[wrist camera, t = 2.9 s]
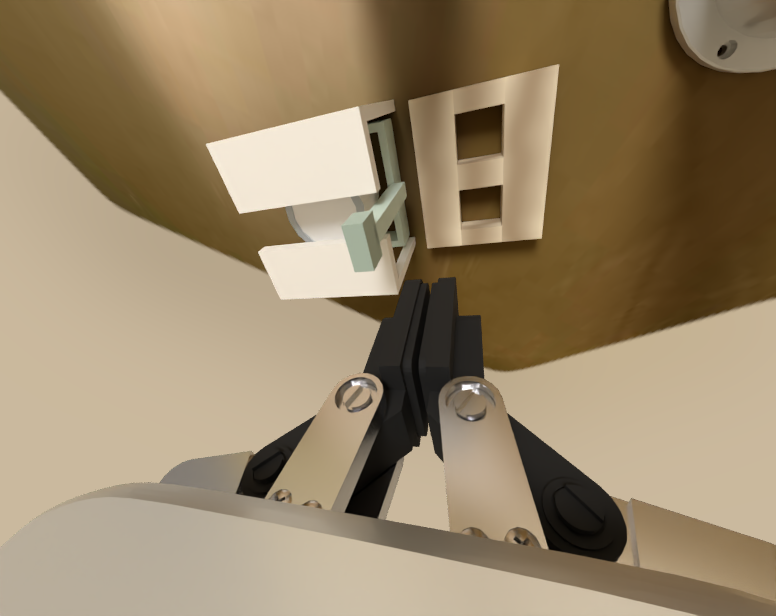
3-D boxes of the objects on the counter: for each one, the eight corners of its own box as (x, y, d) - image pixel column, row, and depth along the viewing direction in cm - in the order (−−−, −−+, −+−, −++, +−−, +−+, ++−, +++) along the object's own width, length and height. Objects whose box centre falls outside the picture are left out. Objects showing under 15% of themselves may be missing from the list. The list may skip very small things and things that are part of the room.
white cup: (366, 235, 32) (344, 267, 26) (309, 199, 31) (274, 225, 25) (398, 177, 27) (380, 201, 22) (333, 134, 26) (297, 147, 21)
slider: (401, 115, 24) (342, 142, 13) (418, 233, 30) (387, 321, 19) (285, 141, 27) (159, 181, 16) (320, 243, 33) (245, 324, 22)
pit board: (552, 65, 21) (559, 64, 19) (537, 229, 27) (541, 238, 26) (412, 99, 24) (408, 100, 22) (429, 239, 30) (427, 248, 29)
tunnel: (393, 99, 24) (358, 106, 16) (415, 244, 31) (398, 294, 23) (278, 127, 27) (205, 144, 20) (322, 252, 34) (280, 299, 27)
